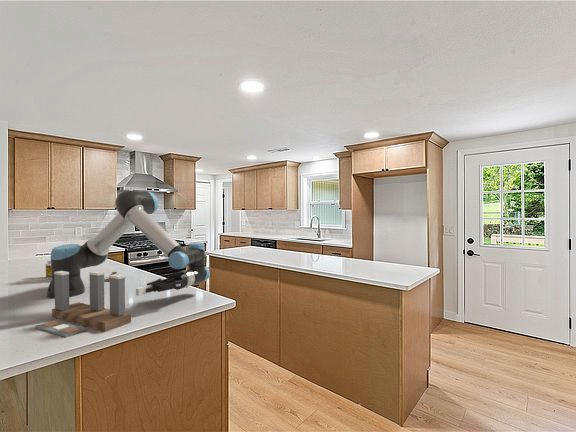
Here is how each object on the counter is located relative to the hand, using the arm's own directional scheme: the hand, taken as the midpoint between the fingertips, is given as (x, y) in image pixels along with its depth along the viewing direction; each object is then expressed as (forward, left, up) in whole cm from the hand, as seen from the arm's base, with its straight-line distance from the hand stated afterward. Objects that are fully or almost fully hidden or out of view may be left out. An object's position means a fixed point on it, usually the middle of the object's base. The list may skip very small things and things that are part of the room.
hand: (137, 292), depth 127 cm
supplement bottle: (-77, +70, -10) cm, 104 cm away
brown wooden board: (-16, -3, -9) cm, 19 cm away
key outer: (-4, -7, -6) cm, 10 cm away
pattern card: (-21, -12, -9) cm, 26 cm away
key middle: (-15, -1, -6) cm, 16 cm away
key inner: (-28, 0, -6) cm, 29 cm away
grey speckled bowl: (-38, +64, -10) cm, 75 cm away
